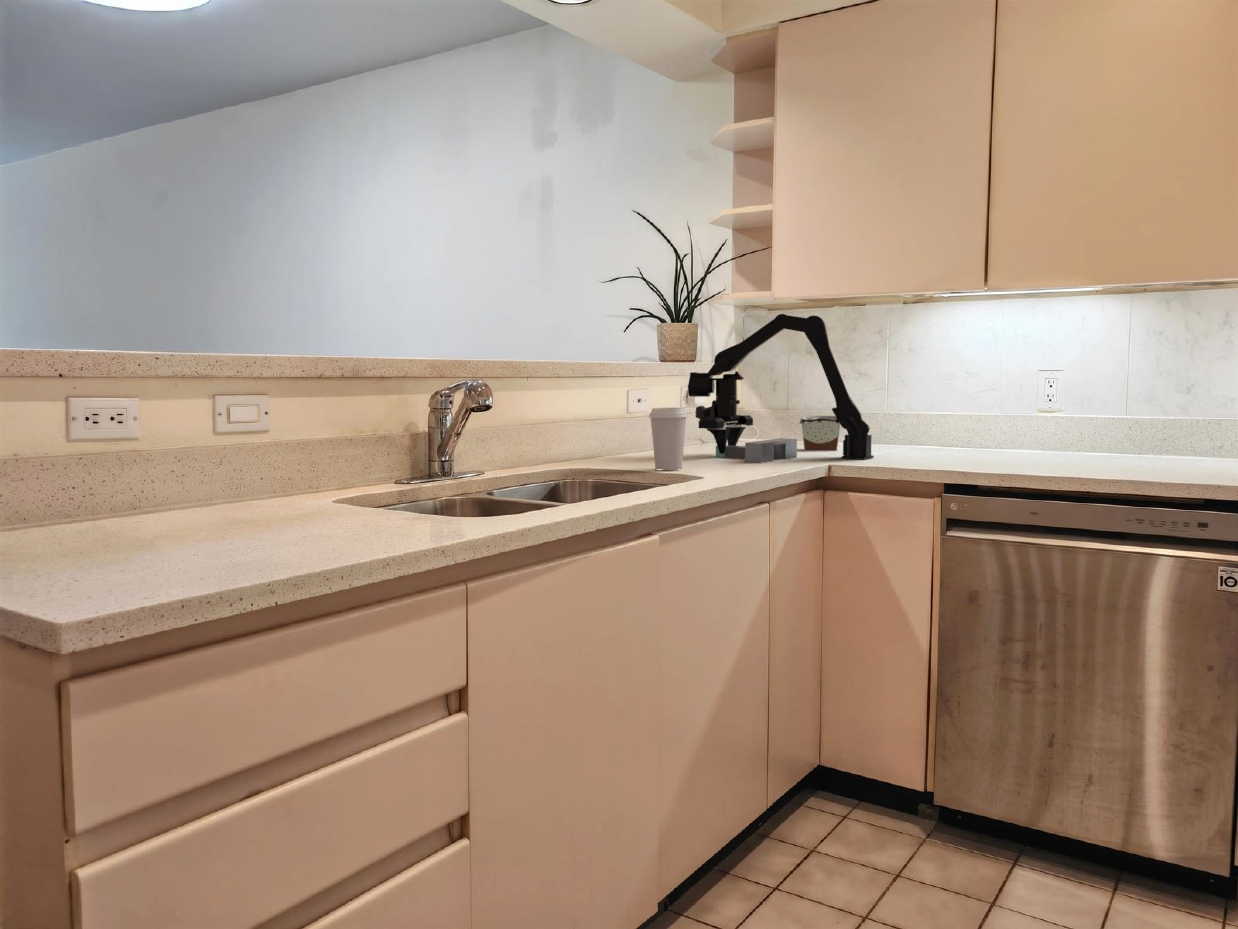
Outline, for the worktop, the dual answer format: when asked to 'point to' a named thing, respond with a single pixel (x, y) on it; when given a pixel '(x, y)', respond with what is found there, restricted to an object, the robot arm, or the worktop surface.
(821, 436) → the food container
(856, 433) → the robot arm
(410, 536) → the worktop surface
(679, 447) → the coffee cup
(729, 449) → the bar
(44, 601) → the worktop surface
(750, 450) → the long gray rectangular block
